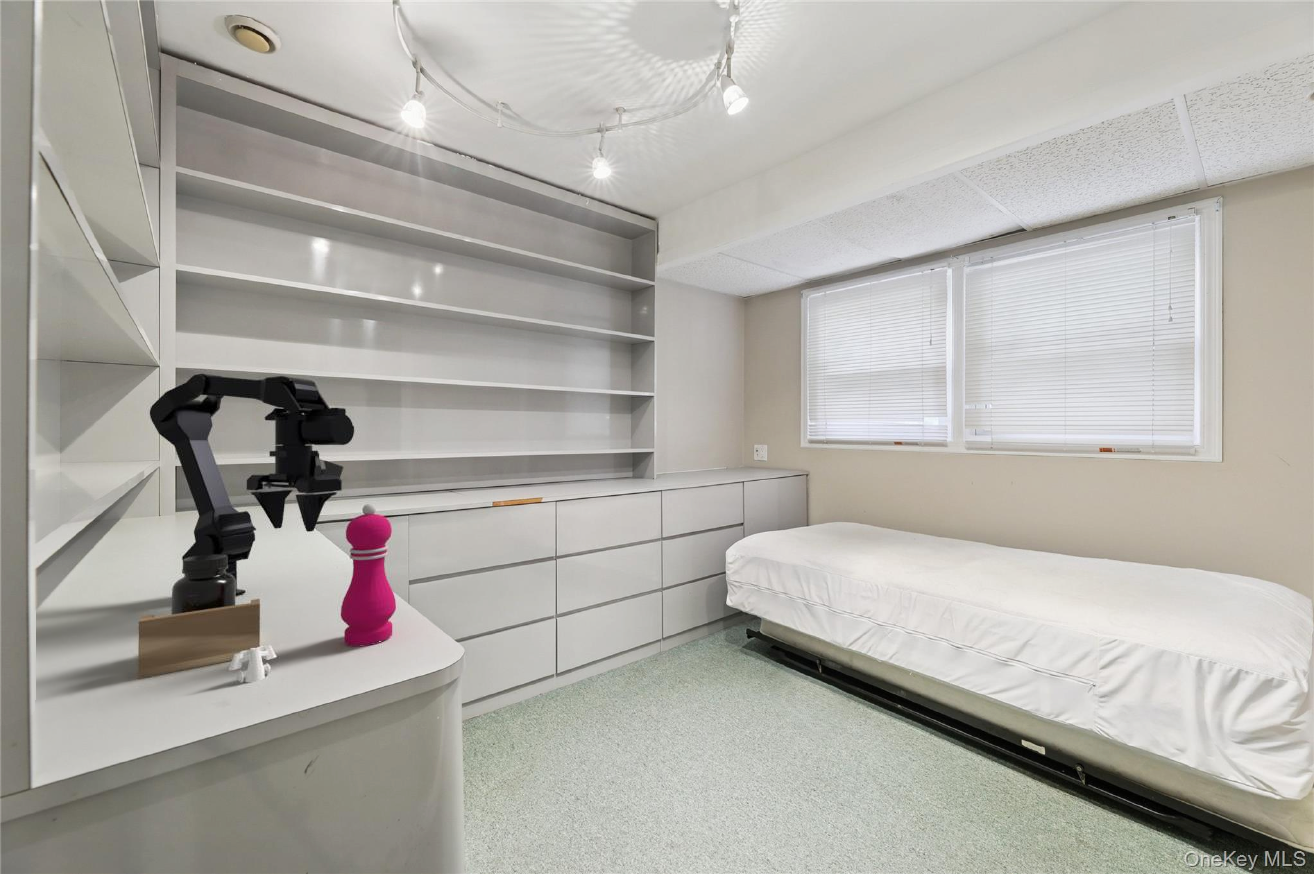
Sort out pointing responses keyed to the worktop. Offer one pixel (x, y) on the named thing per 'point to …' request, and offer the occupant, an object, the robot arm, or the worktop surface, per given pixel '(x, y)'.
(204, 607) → the supplement bottle
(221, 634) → the holder
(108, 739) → the worktop surface
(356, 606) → the pepper mill
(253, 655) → the clip
